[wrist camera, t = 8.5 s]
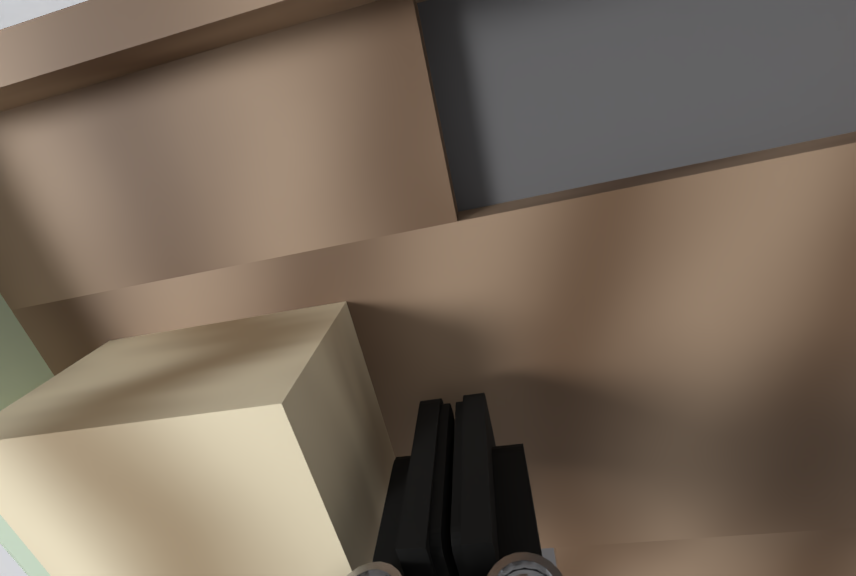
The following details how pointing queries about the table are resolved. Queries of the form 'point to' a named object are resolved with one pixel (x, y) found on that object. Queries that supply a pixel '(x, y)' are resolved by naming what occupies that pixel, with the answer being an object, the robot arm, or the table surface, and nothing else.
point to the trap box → (451, 270)
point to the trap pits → (629, 87)
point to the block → (203, 453)
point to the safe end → (6, 383)
